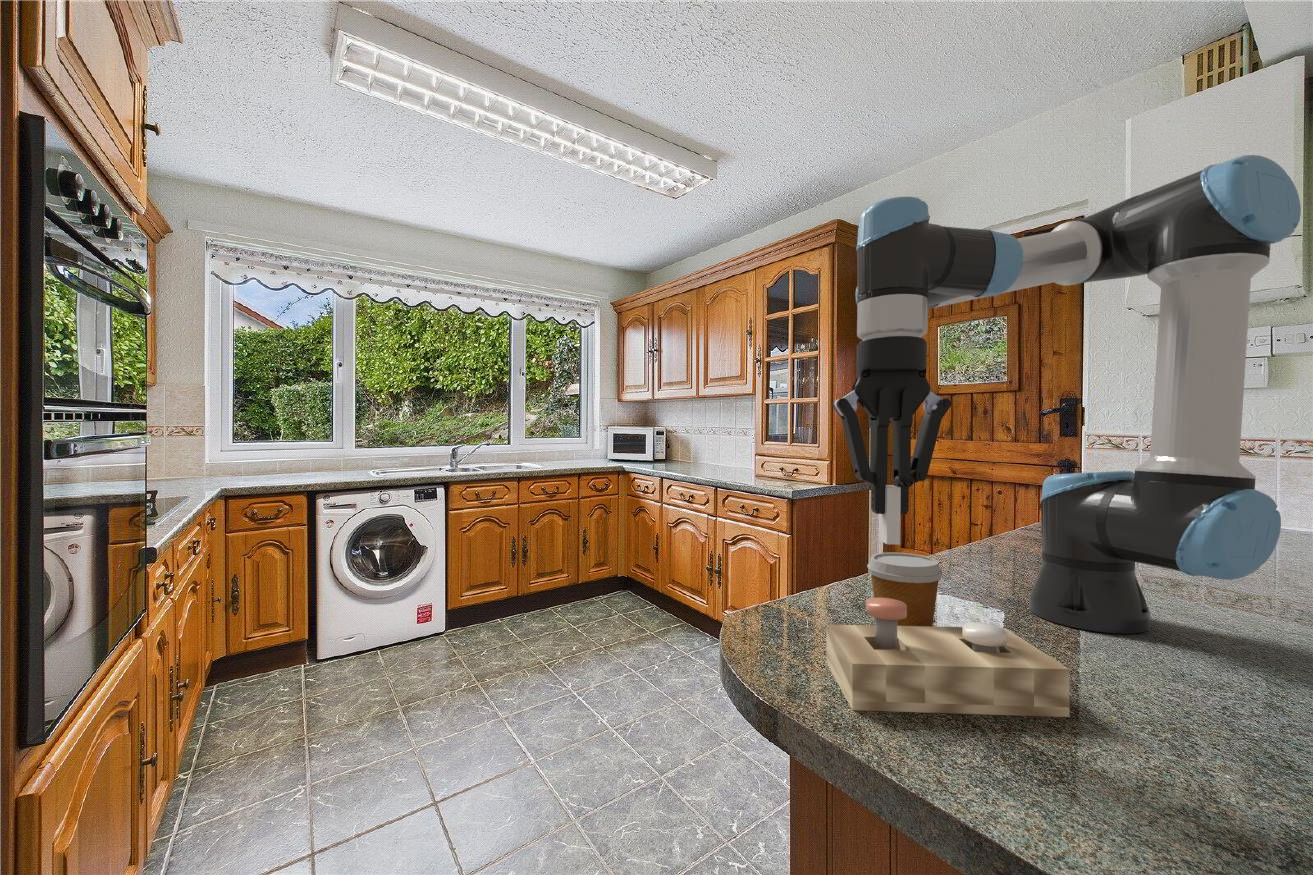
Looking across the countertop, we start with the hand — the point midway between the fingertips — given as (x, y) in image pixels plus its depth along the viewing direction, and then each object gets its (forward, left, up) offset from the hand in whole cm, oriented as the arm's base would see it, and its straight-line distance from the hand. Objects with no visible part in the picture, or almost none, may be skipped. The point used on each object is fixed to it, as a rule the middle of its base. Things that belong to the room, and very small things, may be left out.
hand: (889, 541), depth 64 cm
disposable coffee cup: (-6, -13, -17) cm, 22 cm away
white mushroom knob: (-11, 0, -15) cm, 18 cm away
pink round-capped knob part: (0, 0, -12) cm, 12 cm away
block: (-5, 0, -17) cm, 18 cm away
